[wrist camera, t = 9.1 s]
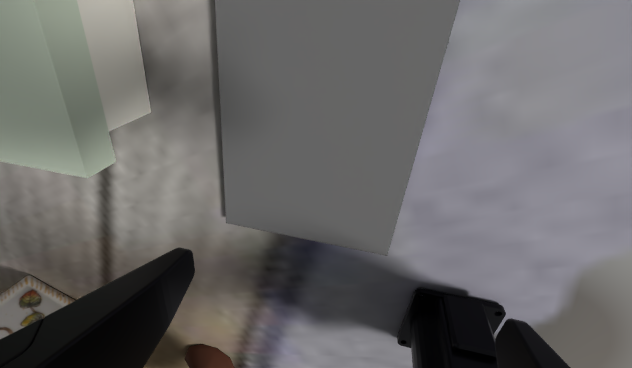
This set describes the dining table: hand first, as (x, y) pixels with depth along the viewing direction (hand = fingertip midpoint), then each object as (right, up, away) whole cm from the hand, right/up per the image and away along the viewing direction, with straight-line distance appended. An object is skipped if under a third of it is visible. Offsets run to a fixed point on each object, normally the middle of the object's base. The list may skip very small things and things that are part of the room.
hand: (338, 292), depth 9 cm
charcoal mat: (0, +7, +10) cm, 12 cm away
